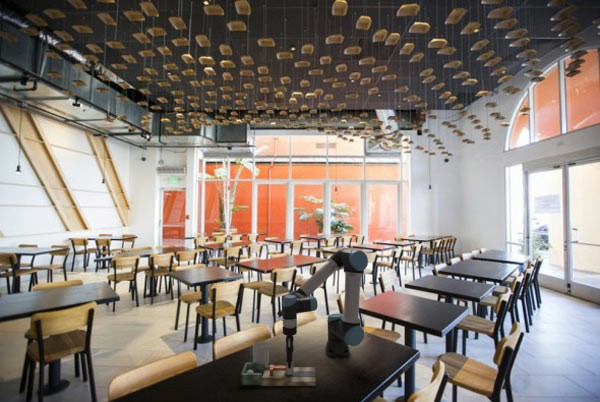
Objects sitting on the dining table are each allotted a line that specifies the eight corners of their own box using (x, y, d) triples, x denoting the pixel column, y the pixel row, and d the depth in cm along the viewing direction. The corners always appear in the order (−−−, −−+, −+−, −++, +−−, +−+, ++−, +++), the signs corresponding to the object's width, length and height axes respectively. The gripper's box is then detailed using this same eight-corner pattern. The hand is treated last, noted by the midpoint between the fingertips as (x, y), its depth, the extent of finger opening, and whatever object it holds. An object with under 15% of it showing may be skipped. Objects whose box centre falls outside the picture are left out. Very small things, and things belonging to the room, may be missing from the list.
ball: (253, 376, 154) (255, 369, 154) (252, 381, 150) (253, 373, 150) (246, 375, 154) (247, 367, 154) (244, 379, 150) (246, 371, 150)
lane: (314, 371, 158) (314, 361, 159) (315, 385, 144) (315, 375, 145) (246, 371, 159) (246, 361, 159) (240, 385, 145) (240, 375, 145)
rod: (294, 370, 154) (293, 344, 155) (293, 375, 149) (293, 348, 150) (270, 370, 154) (270, 344, 155) (269, 375, 149) (269, 348, 150)
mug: (269, 367, 163) (269, 347, 164) (253, 369, 161) (253, 348, 161) (266, 357, 174) (266, 338, 175) (251, 359, 172) (252, 340, 173)
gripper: (283, 320, 162) (283, 363, 160) (281, 331, 145) (281, 380, 143) (297, 320, 162) (297, 363, 160) (296, 331, 145) (296, 380, 143)
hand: (289, 371), depth 152 cm, fingers closed on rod, 4 cm apart
